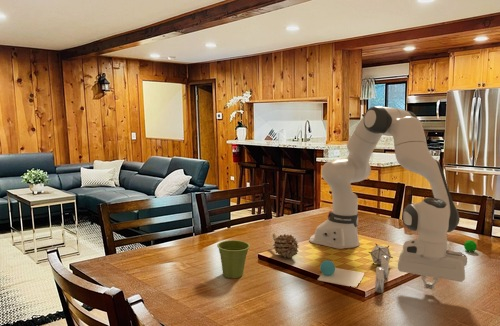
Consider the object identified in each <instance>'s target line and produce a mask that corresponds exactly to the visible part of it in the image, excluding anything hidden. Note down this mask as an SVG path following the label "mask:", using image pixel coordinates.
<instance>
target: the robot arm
mask: <svg viewBox="0 0 500 326" xmlns="http://www.w3.org/2000/svg"><path fill="white" fill-rule="evenodd" d="M353 130H354V131H352V134H351V136H350V138H349V139H348V141H347V143H346V148H347V151H348V155H347V156H346V157H345V158H338V159H333V160H330V161H327V162H325V163H324V164H323V166H322V168H321V176H322V179H323V180H324V182H326V183H327V185H328V186H329V188H330V191H331V194H332V196H331V197H332V209H331V210H329V212H328V213H327V219H326V220H324V221H323V222H322V223H320V224H319V225H318V226H317V227H316V229H315V232H314V234H311V236H310V238H309V242H310V243H312V244H314V245H315V244H316V245H320V246H326V247H328V248H329V247H330V248H334V249H338V250H340V249H341V250H342V249H349V248H350V249H351V248H357V247H358V246H360V244H361V243H360V241H359V235H358V232H359V231H358V227H359V213H358V207H359V206H358V204H359V203H358V202H359V198H358V195H357V194H356V193H354V192H353V190H352V186H351V184H352V183H359V182H362V181H364V180H366V179H368V178H369V177H370V175H371V171H372V168H371V165H370V163H369V162H370V158H371V155H372V154H373V151H374V150H375V148H376V147H377V145H378V143H379V142H380V140H381V138H382V136H386V137H392V138H393V142H394V153H395V158H396V161H397V163H398V164H399V165H400V166H401V167H402V168H404V169H405V170H407V171H409V172H411V173H414V174H417V175H419V176H421V177H423V178H424V179H426V181H428V182H429V184H430V188H431V192H432V195H433V197H425V198H424V199H422V200H421V201H420V202H416V203H415V202H414V203H409V204H407V205H406V206H405V207H404V208H403V211H402V217H401V219H402V224H403V225H404V226H405V228H406V229H408V230H409V231H413V232H417V233H418V236H417V239H412V240H411V239H410V240H406V241H404V242H403V245H402V250H401V251H400V255H399V258H398V262H397V270H398V271H399V272H401V273H407V274H413V275H419V276H421V278H420V279H421V280H422V282H423V284H424V287H423V288H424V289H425V290H427V289H428V290H432V291H433V290H434V291H435V285H437V283H438V282H439V279H443V280H446V281H447V280H448V281H454V282H461V283H462V282H463V281H465V279H466V273H465V271H466V270H465V267H466V266H467V263H468V257H467V255H466V254H464V253H463V252H460V251H453V250H447V241H448V237H447V236H448V235H447V234H448V233H452V232H453V231H454V230H455V229H456V228H457V226H458V225H459V223H460V214H459V211H458V209H457V207H456V205H455V203H454V201H453V199H452V195H451V193H450V189H449V187H448V183H447V180H446V177H445V174H444V171H443V169H442V167H441V164H440V163H439V161H438V160H437V159H436V158H434V156H433V155H432V154H431V152H430V150H429V148H428V143H427V142H428V141H427V138H426V133H425V130H424V127H423V124H422V122H421V120H420V119H419V118H418V116H417V115H416V114H415V113H414V112H412V111H410V110H407V109H406V110H404V109H401V108H398V107H391V106H390V107H389V106H382V105H377V106H375V105H374V106H372V107H369V108H368V109H367V110H366V112H365V114H364V115H363V116H362V118H361V119H360V120H359V121H358V123H357V125H356V126H355V129H353ZM427 277H429V278H433V281H432V282H430V281H427Z"/></svg>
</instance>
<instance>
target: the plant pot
mask: <svg viewBox="0 0 500 326" xmlns="http://www.w3.org/2000/svg"><path fill="white" fill-rule="evenodd" d="M250 247H251V246H250V243H248V242H246V241H242V240H235V239H233V240H230V239H229V240H223V241H220V242H218V243H217V247H216V248H218V252H219V256H220V262H221V271H222V275H223V277H225V278H228V279H229V278H231V279H237V278H241V277H242V276H243V275H244V269H245V266H246V259H247V255H248V251H249V248H250Z"/></svg>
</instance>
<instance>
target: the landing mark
mask: <svg viewBox="0 0 500 326" xmlns="http://www.w3.org/2000/svg"><path fill="white" fill-rule="evenodd" d="M364 276H365V272H361V271H356V270H352V269H351V270H349V269H343V268H339V267H338V268H337V267H335V272H334V273H333V274H332V275H329V276H327V275H324V274H323V273H322V272H321V274H320V275H319V277H318V278H317V281H320V282H325V283H331V284H335V285H341V286H346V287H350V286H351V287H350V288H355V287H354V286H357V285H358V283H360V284H361V282H362V280H363V278H364ZM360 281H361V282H360Z"/></svg>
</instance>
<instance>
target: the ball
mask: <svg viewBox="0 0 500 326" xmlns="http://www.w3.org/2000/svg"><path fill="white" fill-rule="evenodd" d="M335 268H336V266H335V264H334V262H333V261H332V260H327V259H325V260H323V261H322V262H321V263H320V265H319V270H320V272H321V274H322V273H323V274H324V275H327V276H329V275H332V274H333V273H334V272H335Z"/></svg>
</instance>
